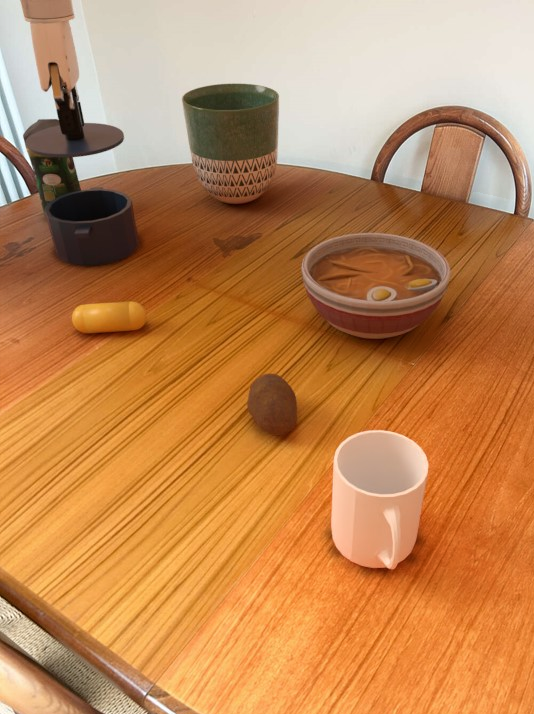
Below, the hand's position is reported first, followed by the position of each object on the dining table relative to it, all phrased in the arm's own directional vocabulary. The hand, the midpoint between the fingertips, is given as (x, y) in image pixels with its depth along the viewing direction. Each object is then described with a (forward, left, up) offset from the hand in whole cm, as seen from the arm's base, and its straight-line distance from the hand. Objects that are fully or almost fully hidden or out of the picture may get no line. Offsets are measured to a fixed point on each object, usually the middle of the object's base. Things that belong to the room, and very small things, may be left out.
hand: (73, 129), depth 113 cm
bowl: (+48, -32, -23) cm, 62 cm away
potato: (+30, -55, -23) cm, 66 cm away
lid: (0, 0, -2) cm, 2 cm away
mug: (+40, -77, -23) cm, 89 cm away
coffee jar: (-9, +17, -23) cm, 30 cm away
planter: (+28, +20, -23) cm, 41 cm away
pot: (0, 0, -22) cm, 22 cm away
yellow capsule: (+6, -30, -22) cm, 38 cm away
